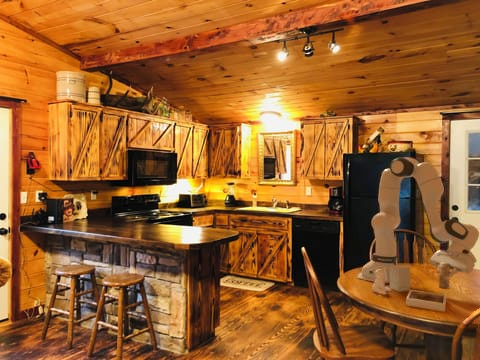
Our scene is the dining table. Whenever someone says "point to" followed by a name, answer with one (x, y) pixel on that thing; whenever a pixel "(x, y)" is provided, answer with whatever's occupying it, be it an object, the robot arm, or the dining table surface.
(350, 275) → the dining table surface
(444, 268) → the birch peg
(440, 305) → the open box
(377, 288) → the seated beast figurine
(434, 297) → the bore plate
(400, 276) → the supplement box
